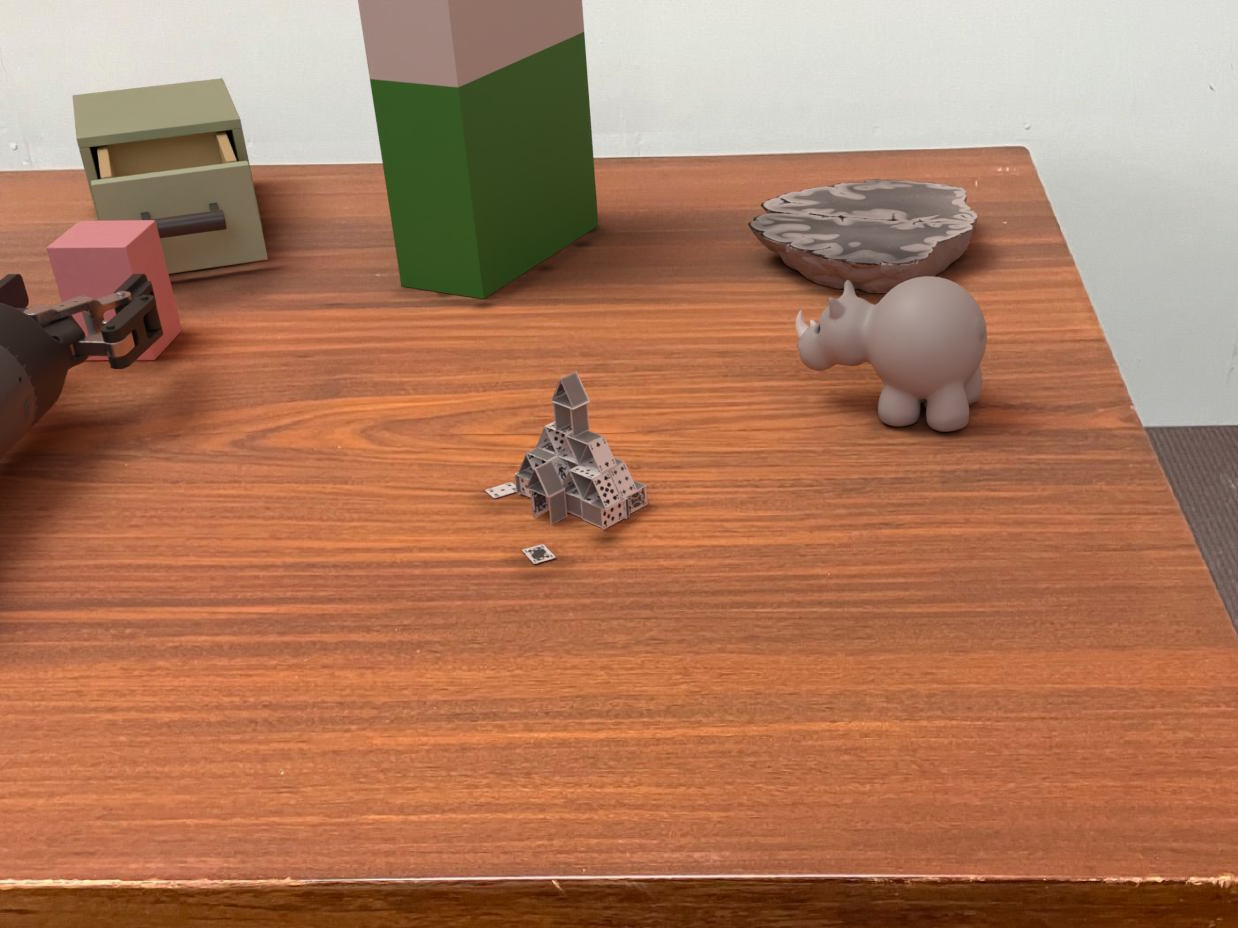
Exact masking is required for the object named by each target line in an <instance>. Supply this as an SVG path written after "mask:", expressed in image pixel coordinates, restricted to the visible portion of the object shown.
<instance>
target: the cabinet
mask: <svg viewBox="0 0 1238 928" xmlns="http://www.w3.org/2000/svg"><path fill="white" fill-rule="evenodd" d="M72 105H73V114H74V115H73V117H74V118H73V119H74V126H75V127H74V129H75V139H76V143H77V146H78V150H79V154H80V158H81V162H82V166H83V169H84V173H85V177H86V181H87V185H88V189H89V192H90V195H91V196H90V197H91V199H92V204H93V207H94V211H95V215H96V218H97V221H101V220H100V216H99V213H98V209H97V205H96V201H95V198H94V194H93V190H92V186H91V181H92V180H99V179H101V175H100V168H99V160H98V152H97V146H103V145H111V144H119V143H127V142H135V141H143V140H152V139H160V138H168V137H176V136H184V135H192V134H201V133H209V132H217V131H225V132H226V134H227V137H228V140H229V142H230V145H231V147H232V150H233V152H234V155H235V157H236V160H237V162H240V161H247V162H248V164H249V168H250V173H251V178H252V182H253V187H254V192H255V197H256V202H257V207H258V212H259V217H260V222H261V227H262V231H263V229H264V228H263V224H262V218H261V214H260V209H259V204H258V199H257V194H256V189H255V185H254V180H253V176H252V170H251V165H250V159H249V155H248V151H247V146H246V140H245V135H244V131H243V126H242V119H241V118H240V115H239V113H238V110H237V108H236V106H235V103H234V101H233V99H232V96H231V95H230V93H229V90H228V87H227V84H226V83H225V80H224V79H223V77H220V78H211V79H203V80H195V81H186V82H185V81H184V82H177V83H176V82H175V83H169V84H158V85H150V86H149V85H148V86H141V87H133V88H125V89H124V88H123V89H116V90H107V91H98V92H88V93H80V94H73V95H72Z"/></svg>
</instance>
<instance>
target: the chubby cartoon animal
mask: <svg viewBox="0 0 1238 928" xmlns="http://www.w3.org/2000/svg"><path fill="white" fill-rule="evenodd" d="M827 302H828V305H826V307H825V308H824V310H823V311H822V312H821V314H820V317H819V320H818V321H817V322H816V321H815V320H814V319H810V320H809V325H808V324H807V322H806V321H805V319H804V316H803V310H802V309H800V310H799V311H798V314H797V316H796V318H795V322H794V324H795V325H794V327H795V333H796V336H797V337H798V339H797V341H798V342H797V345H796V348H797V350H798V353H799V354H798V355H799V358H800V360H801V362H802V363H803V365H804V366H806V367H807V368H809V369H811V370H812V371H817V372H823V371H827V370H830V369H832V368H833V367H834V366H836V365H841V366H846V367H847V366H848V367H856V366H860V365H862V364H864V363H867V364H870V365H871V366H872V368H873V370H874V372H875V373H876V375H877V376H878V377H879V379H880V380H881V382H882V389H881V392H880V395H879V400H878V403H877V416H878V418H879V420H880V421H881V422H882V423H883V424H885V425H888V426H890V427H891V426H892V427H906V426H910V425H914V424H915V423H917V422H918V421H919V418H920V415H921V404H923V406H924V408H925V409H926V410H925V418H926V423H927V425H928V426H929V428H931V429H932V430H934V431H937V432H942V433H943V432H945V433H946V432H947V433H948V432H954V431H960V430H961V429H963V428H965V427H966V426H968V423H969V421H970V405H972V404H974V403H976V402H978V400H979V399H980V398H981V396H982V392H983V374H982V370H981V366H980V365H981V362H982V361H983V358H984V355H985V353H986V349H987V342H988V329H987V324H986V323H987V322H986V318H985V316H984V313H983V310H982V309H981V307H980V305H979V303H978V302H977V300H976V299H975V297H974V296H973V295H972V294H971V293H970V292H969V291H968V290H966V289H965V288H964V287H963V286H962V285H960V284H958V283H957V282H955V281H953V280H949V279H947V278H945V277H944V278H943V277H939V276H935V277H933V276H924V277H917V278H913V279H910V280H907V281H904V282H902V283H900V284H898V285H897V286H895V287H894V288H893V289H891V290H890V291H889V292H888V293H885V294H884V295H883V297H882V298H881V299H880V301H878V302H877V303H876V304H874V303H871V302H869V301H868V300H866V299H865V298H862V297H860V296H857V294H856V289H854V287H853V285H852V283H851V282H850V281H849V280H846V282H845V283H844V289H843V293H842V294H841V295H840V296H839V297H837V298H835V297H832V296H830V297H829V298H828V299H827Z"/></svg>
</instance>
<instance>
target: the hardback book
mask: <svg viewBox="0 0 1238 928" xmlns="http://www.w3.org/2000/svg"><path fill="white" fill-rule="evenodd" d="M357 4H358V11H359V17H360V18H359V19H360V22H361V23H360V24H361V30H362V36H363V38H362V39H363V44H364V50H365V57H366V63H367V69H368V75H369V77H368V78H369V82H370V89H371V90H370V91H371V95H372V104H373V109H374V117H375V123H376V129H377V136H378V142H379V148H380V155H381V160H382V167H383V175H384V181H385V182H384V183H385V188H386V194H387V200H388V208H389V215H390V220H391V228H392V234H393V241H394V247H395V253H396V260H397V267H398V272H399V280H400V286H401V287H404V288H411V289H418V290H423V291H430V292H437V293H443V294H450V295H455V296H463V297H469V298H476V299H481V300H484V299H486V298H487V297H489V296H490V295H493V294H494V293H495V292H497V291H498V290H500V289H501V288H503V287H504V286H506V285H508V284H509V283H511V282H513V281H514V280H516V279H517V278H519V277H520V276H522V275H523V274H525V273H527V272H528V271H531V269H533V268H534V267H537V266H538V265H539V264H541V263H543V262H544V261H545V260H547V259H548V258H550V257H551V256H553V255H555V254H556V253H557V252H559V251H561V250H562V249H564V248H567V247H568V246H569V245H570V244H572V243H574V242H576V240H578V239H580V238H582V237H583V236H585V235H586V234H587V233H589V232H591V231H592V230H594V229H595V228H597V227H598V226H599V215H598V199H597V186H596V173H595V158H594V147H593V146H594V145H593V131H592V117H591V105H590V90H589V77H588V75H589V74H588V61H587V49H586V35H585V34H586V33H585V23H584V22H585V20H584V10H583V9H584V7H583V0H357Z"/></svg>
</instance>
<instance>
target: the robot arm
mask: <svg viewBox="0 0 1238 928" xmlns="http://www.w3.org/2000/svg"><path fill="white" fill-rule="evenodd" d="M29 303H30V299H29V295H28V292H27V289H26V285H25V281H24V278H23V276H22V275H21V274H20V273H8V274H6V275H5V276H3V277H2V278H1V279H0V459H1V458H3V457H4V456H6V454H8V452H10V450H12V449H13V447H14V446H16V445H17V444H18V442H19V441H20V440H21V439H22V438H23V437H24V436H26V434H27V433H28V432H29V431H30V430H31V429H32V428H33V427H34V426H35V425H36V424H37V423H38V422H39V421H40V420H41V419H42V418H43V417H44V416H45V415H46V414H47V413H48V412H49V411H50V410H51V409H52V407H53V406H55V404H56V403H57V402H58V400H59V398H60V396H61V394H62V392H63V389H64V386H65V381H66V378H67V375H68V372H69V370H70V369H72V368H75V367H76V366H79V365H81V364H83V363H85V362H86V361H88V360H87V358H90V357H93V356H108V359H109V360H108V362H109V366H110V368H111V369H113V370H124V369H126V368H129V367H130V366H132V364H134V362H136V361H138V360H137V359H138V358H139V357H140V356H141V355H142V354H143V353H144V352H145V351H146V350H147V349H148V348H149V347H151V346H152V345H153V344H154V343H155V342H156V341H157V340H158V339H159V338H160V337H161V336H162V335H163V330H162V326H161V322H160V318H159V314H158V310H157V306H156V299H155V295H154V291H153V287H152V283H151V281H148V280H147V277H146V275H145V274H132V275H131V276H130V277H129V278H128V279H127V280H126V281H125V282H124V283H123V284H122V285H121V286H120V287H119V288H118V289H117V290H116V291H115V292H114V293H113V294H110V295H107V296H104V297H101V298H98V299H93V298H91V297H89V296H86V295H82V296H79V297H76V298H73V299H69V300H66V301H63V302H62V301H60V302H57V303H54V304H51V305H46V304H43V303H42V304H38V305H35V306H31V307H28V306H29ZM111 309H115V313H116V315H115V316H114V317H113V318H112V319H111V320H110V321H109V320H104V317H103V315H104V313H105V312H106V311H108V310H111ZM79 312H82V314H83V317H84V321H85V325H86V328H87V332H88V336H85V333H84V331H83V329H82V328H81V327H80V326H79V324H78V323H77V322H76V320H75V319H74V318H73V316H72V315H73V314H76V313H79Z"/></svg>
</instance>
